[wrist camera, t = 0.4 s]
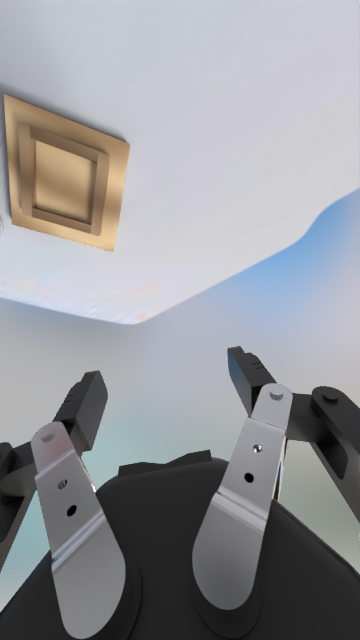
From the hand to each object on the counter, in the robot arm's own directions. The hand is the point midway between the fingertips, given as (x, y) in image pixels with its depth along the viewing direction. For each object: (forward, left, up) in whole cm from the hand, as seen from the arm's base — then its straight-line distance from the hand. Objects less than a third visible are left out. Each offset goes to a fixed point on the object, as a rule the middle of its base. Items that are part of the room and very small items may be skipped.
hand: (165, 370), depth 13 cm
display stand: (-7, -13, -21) cm, 26 cm away
